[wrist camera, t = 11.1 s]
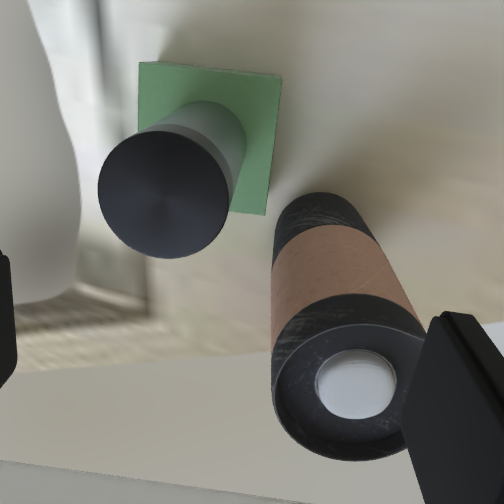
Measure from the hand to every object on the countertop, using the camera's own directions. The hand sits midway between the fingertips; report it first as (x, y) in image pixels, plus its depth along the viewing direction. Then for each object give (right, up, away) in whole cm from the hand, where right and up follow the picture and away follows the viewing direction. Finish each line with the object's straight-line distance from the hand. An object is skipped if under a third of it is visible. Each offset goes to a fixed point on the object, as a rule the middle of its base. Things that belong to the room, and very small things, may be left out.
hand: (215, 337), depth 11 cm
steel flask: (-2, +9, +21) cm, 23 cm away
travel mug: (+6, +3, +28) cm, 29 cm away
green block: (-2, +11, +25) cm, 28 cm away
